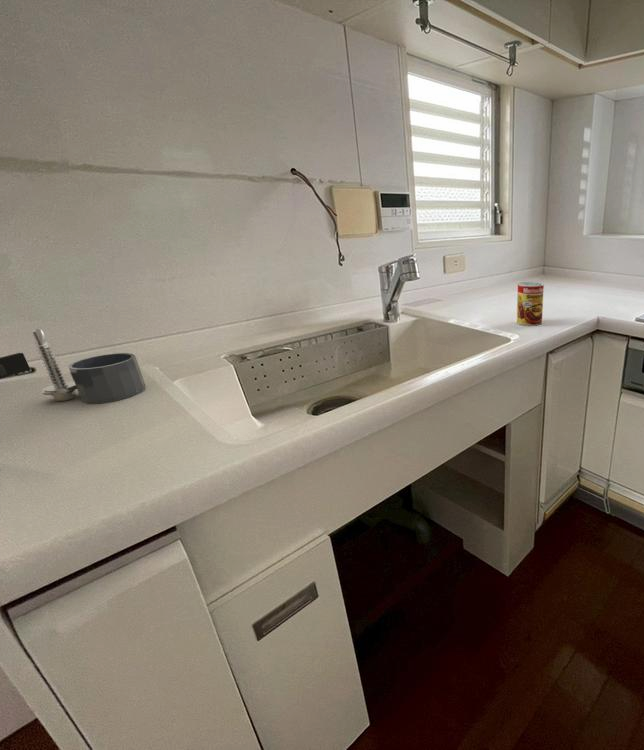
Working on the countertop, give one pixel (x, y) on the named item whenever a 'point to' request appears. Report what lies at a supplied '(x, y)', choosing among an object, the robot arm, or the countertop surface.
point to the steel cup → (107, 377)
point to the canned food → (530, 303)
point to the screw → (53, 370)
